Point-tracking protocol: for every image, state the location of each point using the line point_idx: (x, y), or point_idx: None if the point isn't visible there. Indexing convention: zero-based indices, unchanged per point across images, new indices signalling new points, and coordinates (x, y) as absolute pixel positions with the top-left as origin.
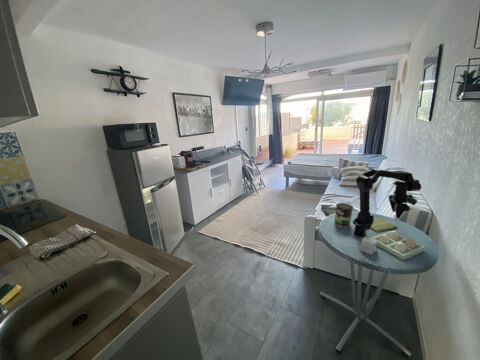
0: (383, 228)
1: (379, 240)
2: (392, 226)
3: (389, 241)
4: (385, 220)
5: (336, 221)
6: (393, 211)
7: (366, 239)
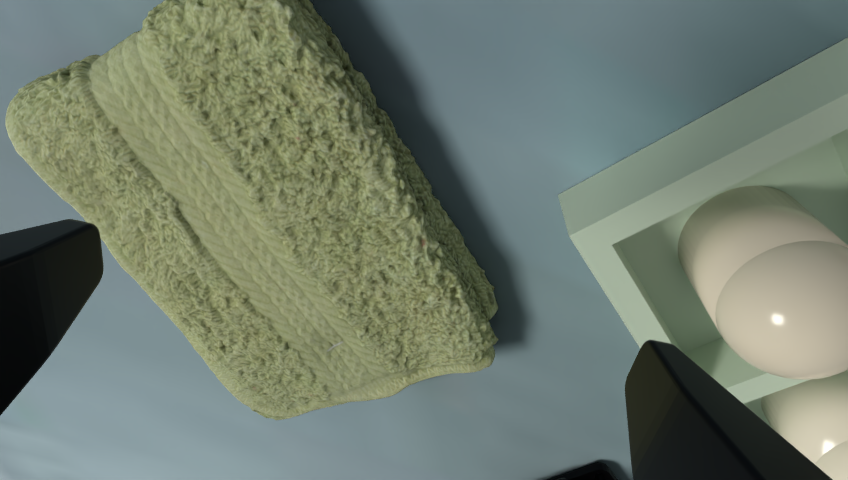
0: (433, 266)
1: None
2: (319, 76)
3: None
4: (84, 99)
5: None
6: (95, 263)
7: None
